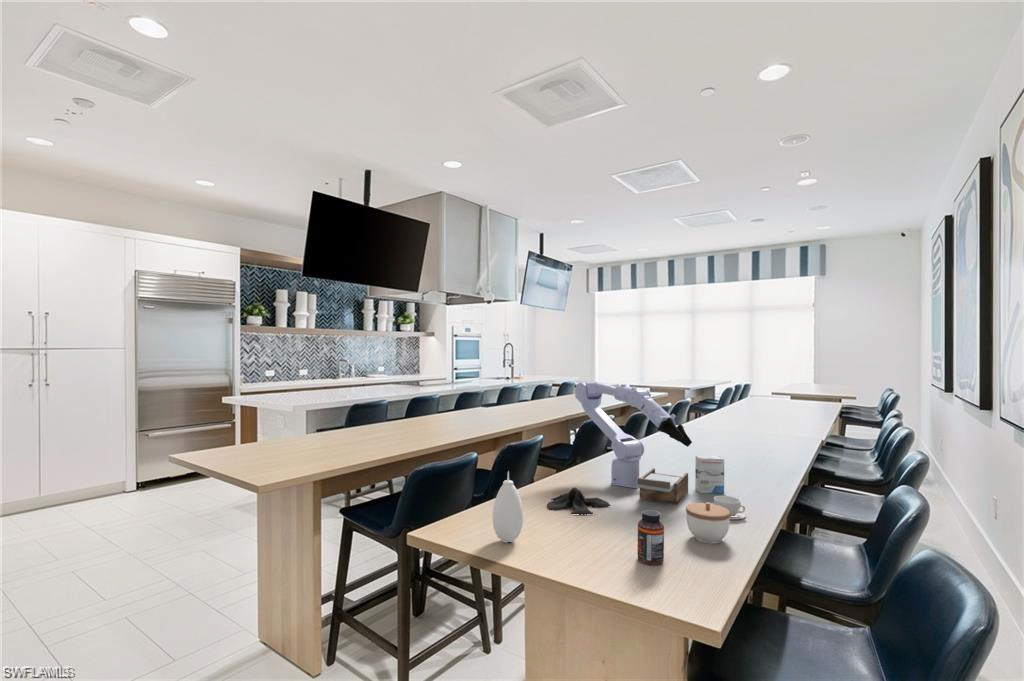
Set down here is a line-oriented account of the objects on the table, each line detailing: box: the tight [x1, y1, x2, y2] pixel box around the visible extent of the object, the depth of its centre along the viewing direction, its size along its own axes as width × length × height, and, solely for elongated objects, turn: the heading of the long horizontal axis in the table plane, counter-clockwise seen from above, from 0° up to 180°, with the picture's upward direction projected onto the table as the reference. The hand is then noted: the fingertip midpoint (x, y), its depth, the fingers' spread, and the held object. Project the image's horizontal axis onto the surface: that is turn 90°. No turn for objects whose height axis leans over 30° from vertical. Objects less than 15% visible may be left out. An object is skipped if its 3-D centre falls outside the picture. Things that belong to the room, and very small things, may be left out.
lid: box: [637, 473, 682, 492], centre depth 163 cm, size 10×16×3 cm, turn 149°
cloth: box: [546, 487, 612, 516], centre depth 158 cm, size 22×19×6 cm
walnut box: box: [638, 468, 689, 506], centre depth 168 cm, size 12×16×6 cm
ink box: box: [694, 455, 725, 495], centre depth 173 cm, size 8×5×12 cm, turn 84°
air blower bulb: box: [492, 470, 524, 543], centre depth 128 cm, size 8×8×18 cm
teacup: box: [713, 495, 746, 520], centre depth 150 cm, size 10×10×5 cm
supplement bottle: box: [637, 509, 665, 566], centre depth 118 cm, size 6×6×11 cm
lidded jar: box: [685, 501, 731, 545], centre depth 131 cm, size 11×11×9 cm
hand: (685, 441), depth 161 cm, fingers open, 7 cm apart
